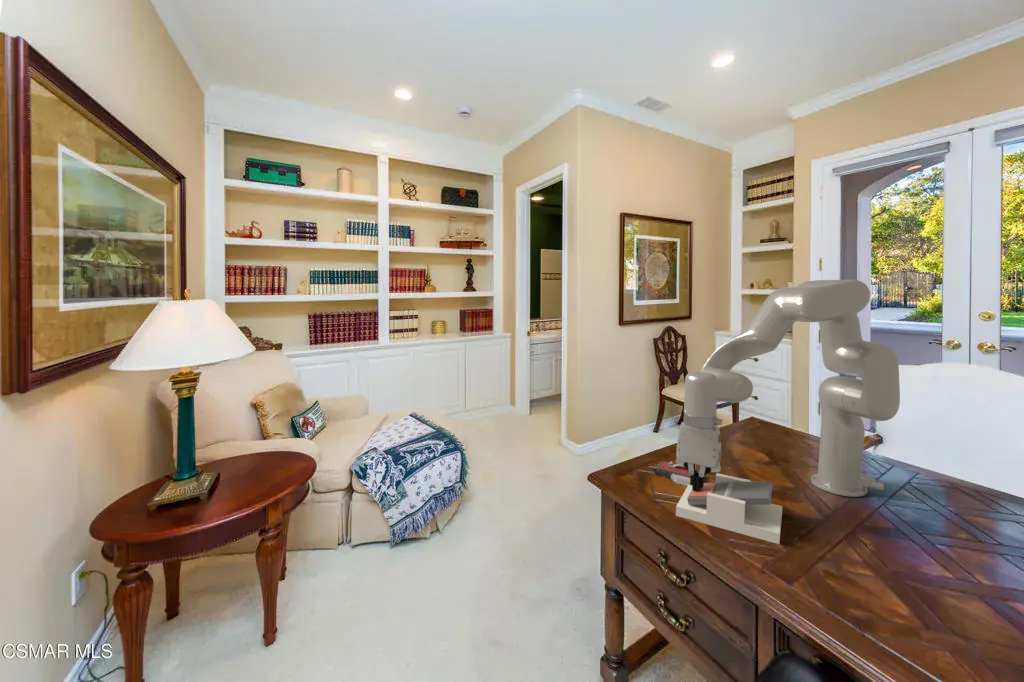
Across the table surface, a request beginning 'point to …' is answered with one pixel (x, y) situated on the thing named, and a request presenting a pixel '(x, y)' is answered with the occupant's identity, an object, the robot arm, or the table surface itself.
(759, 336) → the robot arm
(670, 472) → the walkie-talkie
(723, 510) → the switch housing
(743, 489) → the rocker
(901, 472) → the table surface
